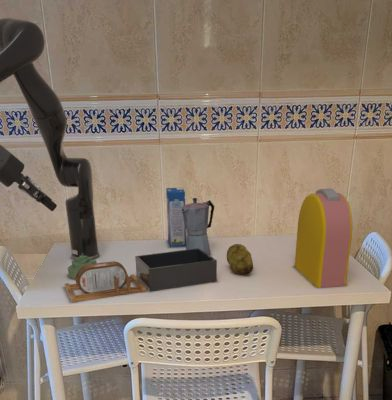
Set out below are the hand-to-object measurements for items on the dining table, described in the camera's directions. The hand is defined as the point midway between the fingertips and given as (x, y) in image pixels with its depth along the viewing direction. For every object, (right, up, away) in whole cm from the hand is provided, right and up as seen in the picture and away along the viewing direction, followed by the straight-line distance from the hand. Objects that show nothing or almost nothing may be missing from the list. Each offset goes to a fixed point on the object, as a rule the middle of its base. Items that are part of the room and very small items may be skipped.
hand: (52, 205), depth 137 cm
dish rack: (+12, -22, +12) cm, 27 cm away
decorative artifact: (+4, -16, +24) cm, 29 cm away
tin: (+12, -22, +11) cm, 28 cm away
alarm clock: (+78, -16, +21) cm, 83 cm away
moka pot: (+40, -5, +43) cm, 59 cm away
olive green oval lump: (+53, -14, +25) cm, 61 cm away
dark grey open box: (+33, -17, +19) cm, 42 cm away
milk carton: (+32, +1, +56) cm, 65 cm away
